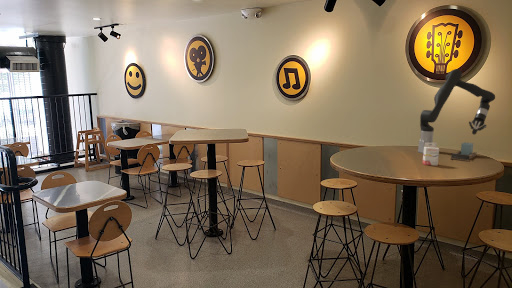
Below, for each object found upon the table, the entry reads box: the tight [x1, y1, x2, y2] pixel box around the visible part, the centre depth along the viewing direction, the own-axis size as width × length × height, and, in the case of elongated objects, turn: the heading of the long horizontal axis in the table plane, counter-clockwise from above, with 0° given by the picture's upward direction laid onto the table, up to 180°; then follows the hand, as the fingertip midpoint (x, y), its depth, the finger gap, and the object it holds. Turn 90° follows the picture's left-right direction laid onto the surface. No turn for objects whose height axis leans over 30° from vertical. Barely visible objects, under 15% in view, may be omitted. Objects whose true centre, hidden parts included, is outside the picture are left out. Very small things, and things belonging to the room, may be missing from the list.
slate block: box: [460, 142, 474, 155], centre depth 286 cm, size 8×6×9 cm
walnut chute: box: [450, 150, 478, 163], centre depth 282 cm, size 23×12×4 cm, turn 138°
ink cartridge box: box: [422, 142, 440, 166], centre depth 260 cm, size 9×5×15 cm, turn 84°
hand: (473, 134), depth 299 cm, fingers closed
